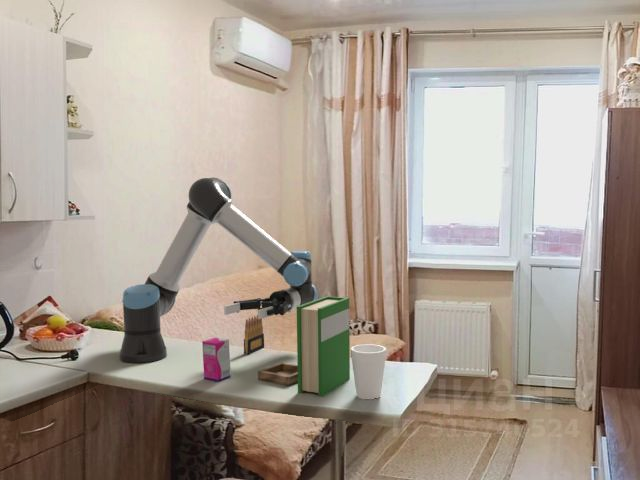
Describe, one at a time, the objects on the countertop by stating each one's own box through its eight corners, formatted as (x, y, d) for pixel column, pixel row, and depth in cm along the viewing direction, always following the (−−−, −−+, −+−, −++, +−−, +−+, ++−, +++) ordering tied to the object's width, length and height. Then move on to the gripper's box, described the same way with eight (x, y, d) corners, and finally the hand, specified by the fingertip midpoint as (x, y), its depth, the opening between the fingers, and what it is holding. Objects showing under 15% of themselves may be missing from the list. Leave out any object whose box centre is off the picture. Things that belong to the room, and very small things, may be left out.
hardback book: (321, 396, 180) (320, 308, 178) (297, 392, 183) (296, 306, 181) (349, 379, 196) (349, 298, 193) (327, 375, 199) (326, 296, 197)
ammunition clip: (248, 355, 224) (247, 319, 223) (243, 354, 224) (242, 319, 223) (264, 347, 233) (263, 313, 232) (259, 347, 234) (259, 313, 233)
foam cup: (356, 389, 186) (355, 343, 185) (388, 391, 183) (388, 345, 182) (347, 400, 177) (347, 351, 176) (382, 403, 174) (381, 354, 173)
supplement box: (216, 374, 202) (215, 336, 201) (231, 377, 199) (230, 339, 198) (202, 378, 197) (201, 340, 196) (217, 382, 194) (216, 343, 193)
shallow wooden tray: (258, 379, 196) (257, 371, 196) (281, 370, 205) (281, 362, 205) (289, 386, 190) (288, 377, 189) (312, 376, 199) (312, 367, 199)
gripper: (315, 315, 216) (274, 328, 198) (255, 308, 230) (212, 320, 213) (314, 292, 215) (273, 303, 198) (254, 287, 229) (211, 297, 212)
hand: (241, 312), depth 205 cm, fingers open, 13 cm apart
